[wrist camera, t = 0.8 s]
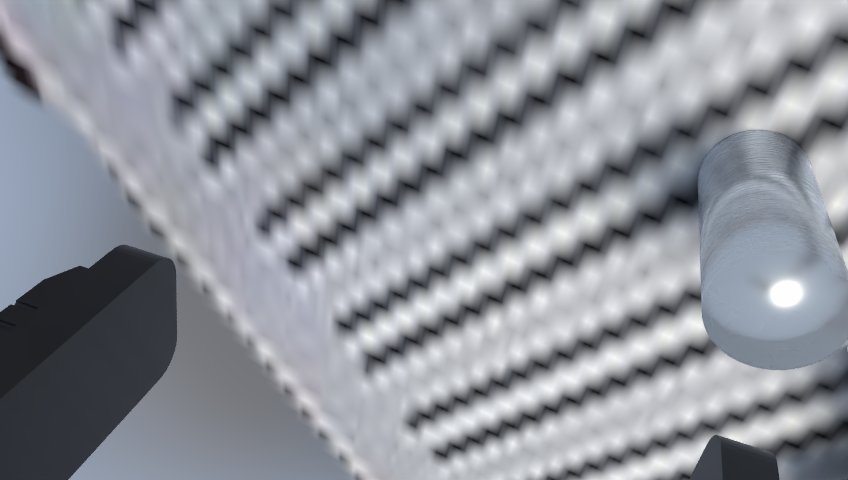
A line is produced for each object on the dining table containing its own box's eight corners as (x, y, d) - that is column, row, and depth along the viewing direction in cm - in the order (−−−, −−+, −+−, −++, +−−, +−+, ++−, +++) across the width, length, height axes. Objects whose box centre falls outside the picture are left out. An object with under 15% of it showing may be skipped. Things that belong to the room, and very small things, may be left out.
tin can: (800, 117, 31) (843, 235, 22) (821, 213, 32) (869, 358, 24) (685, 146, 32) (686, 266, 24) (711, 236, 34) (720, 378, 26)
